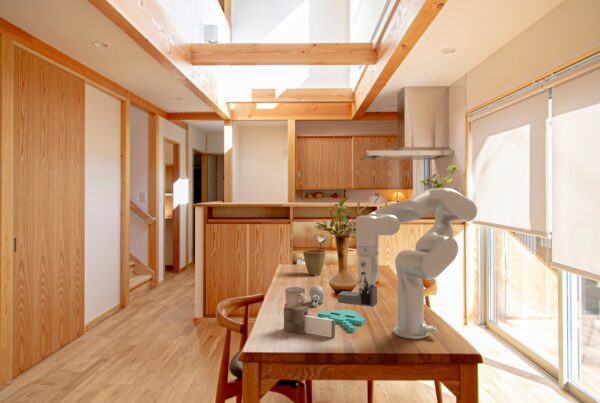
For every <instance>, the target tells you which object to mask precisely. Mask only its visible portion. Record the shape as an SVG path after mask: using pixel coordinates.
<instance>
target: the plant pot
mask: <svg viewBox="0 0 600 403" xmlns="http://www.w3.org/2000/svg"><path fill="white" fill-rule="evenodd" d="M302 252H303V253H302V254H303V258H304V262H305V266H306V270H307V272H308V273H307V274H308V275H309V274H310V275H319V276H320V275H321V273H322V270H323V268H324V264H325V257H326V250H324V249H305V250H302ZM310 275H309V276H310Z"/></svg>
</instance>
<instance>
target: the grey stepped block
mask: <svg viewBox="0 0 600 403" xmlns="http://www.w3.org/2000/svg"><path fill="white" fill-rule="evenodd" d="M365 287H366V288H367V286H365ZM369 293H370V301H371V304H370V305H366V304H361V288H360V287H359V288H358V292H356V291H346V290H345V291H344V290H342V291H340V292H339V293H338V294H337V303H339V304H346V305H353V306H362V307H370V308H373V307H375V306H376V305H377V304H378V286H377V285H375V286H370V290H369Z"/></svg>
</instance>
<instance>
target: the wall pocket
mask: <svg viewBox="0 0 600 403" xmlns="http://www.w3.org/2000/svg"><path fill="white" fill-rule="evenodd" d="M304 315H306V316H309V306H305V305H297V304H292V303H290V304H288V305H286V306H284V307H283V332H286V333H292V334H298V335H304V334H305V332H304Z"/></svg>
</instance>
